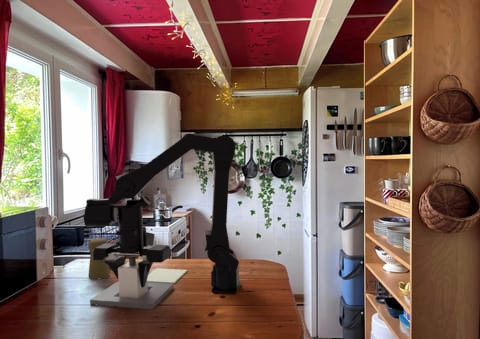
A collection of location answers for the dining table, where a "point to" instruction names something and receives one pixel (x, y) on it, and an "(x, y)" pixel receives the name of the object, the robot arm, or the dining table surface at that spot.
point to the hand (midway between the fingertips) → (133, 286)
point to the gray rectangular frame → (145, 302)
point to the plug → (130, 280)
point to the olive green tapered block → (97, 261)
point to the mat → (165, 276)
